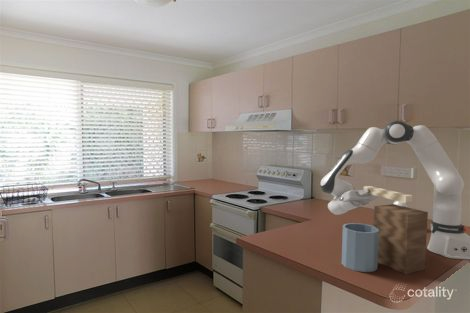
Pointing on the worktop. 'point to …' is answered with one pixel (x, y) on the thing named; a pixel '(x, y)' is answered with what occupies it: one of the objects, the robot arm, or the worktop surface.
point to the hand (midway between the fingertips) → (372, 189)
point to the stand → (401, 237)
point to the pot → (360, 247)
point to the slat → (389, 194)
